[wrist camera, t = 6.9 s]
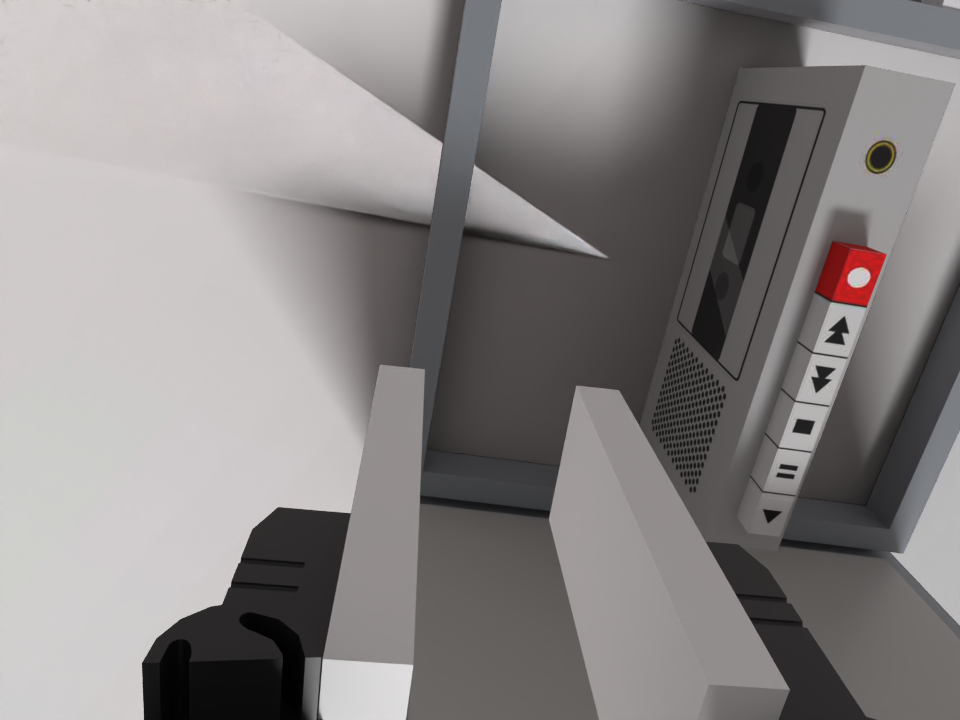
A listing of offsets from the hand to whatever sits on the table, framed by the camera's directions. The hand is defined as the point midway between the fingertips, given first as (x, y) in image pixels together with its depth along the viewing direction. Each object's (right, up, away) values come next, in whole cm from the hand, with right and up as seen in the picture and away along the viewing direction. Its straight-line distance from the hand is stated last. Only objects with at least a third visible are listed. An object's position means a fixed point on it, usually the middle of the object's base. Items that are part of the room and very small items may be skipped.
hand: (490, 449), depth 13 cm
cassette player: (+10, +6, +19) cm, 22 cm away
